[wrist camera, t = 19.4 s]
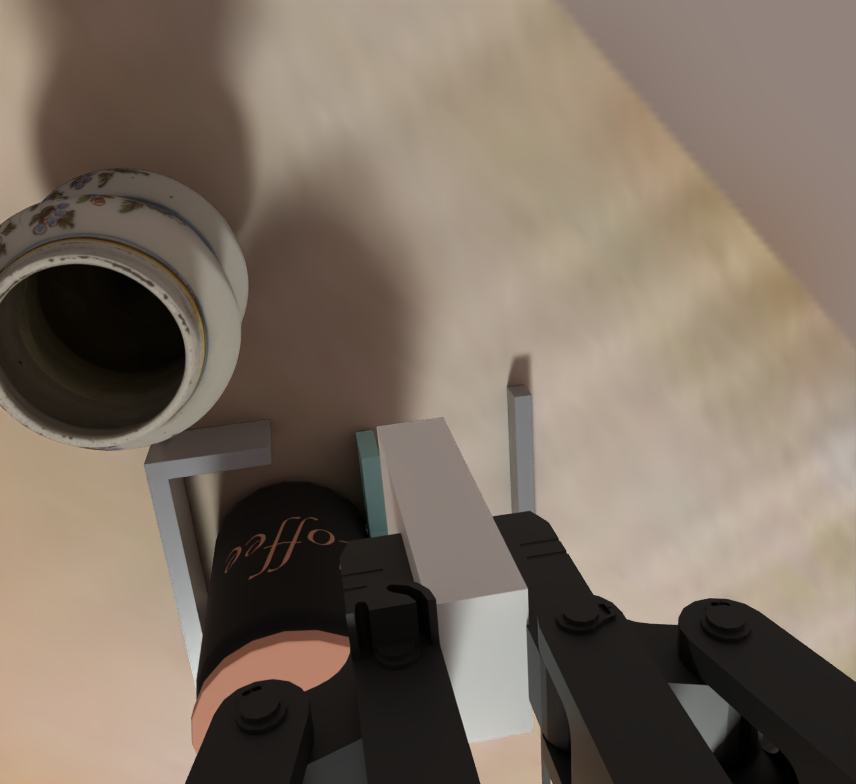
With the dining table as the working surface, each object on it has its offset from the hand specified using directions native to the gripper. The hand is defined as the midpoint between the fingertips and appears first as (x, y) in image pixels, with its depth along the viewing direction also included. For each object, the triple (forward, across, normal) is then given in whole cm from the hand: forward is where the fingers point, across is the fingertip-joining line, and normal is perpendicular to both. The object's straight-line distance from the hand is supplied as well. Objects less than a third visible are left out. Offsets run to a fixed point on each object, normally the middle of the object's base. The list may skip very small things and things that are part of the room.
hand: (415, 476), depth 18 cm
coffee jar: (+35, -5, -22) cm, 41 cm away
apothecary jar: (+35, -11, -1) cm, 36 cm away
